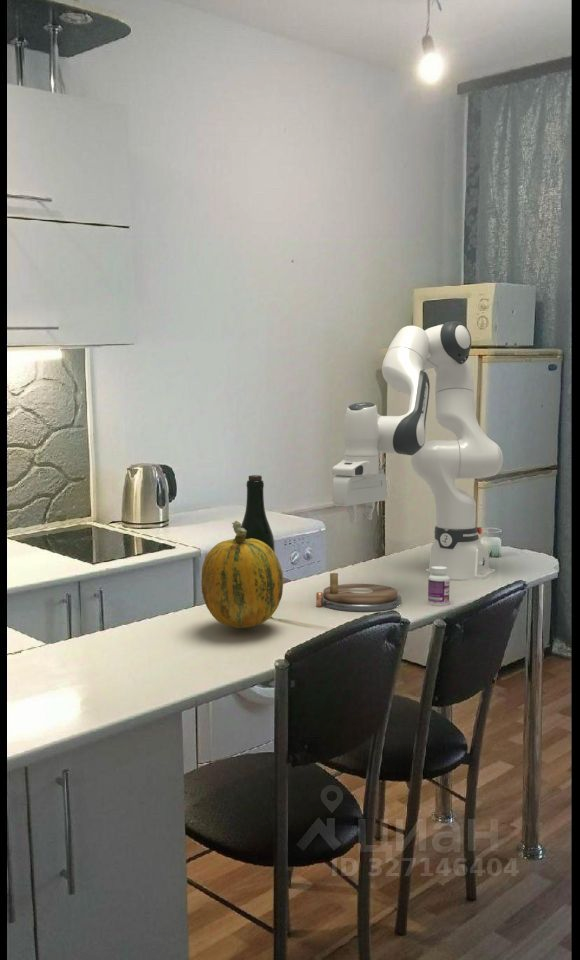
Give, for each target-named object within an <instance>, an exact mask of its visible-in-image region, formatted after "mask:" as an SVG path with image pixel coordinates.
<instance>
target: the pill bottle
mask: <svg viewBox="0 0 580 960" xmlns="http://www.w3.org/2000/svg"><path fill="white" fill-rule="evenodd" d="M431 573H432V575H430V574H429V576H428V580H427V581H428V582H427V583H428V585H427V587H428V588H427V589H428V590H427V603H429V604H428V605H430V604H432V605H431V606H433V605H436V606H435V607H444V606H446V607H447V606H448V605H449V604H450V582H451V579H449V577H448V576H447V575H446V573H447V567H442V566H434V567H431Z"/></svg>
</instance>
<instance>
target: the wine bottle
mask: <svg viewBox="0 0 580 960" xmlns="http://www.w3.org/2000/svg"><path fill="white" fill-rule="evenodd" d="M262 479H263V476H262V475H259V474H258V475H255V474H252V475H249V476H248V480H247V481H246V503H245V504H246V505H245V512H244V517H243V520H242V522H241V528H244V529H245V530H246V531H247V533H246V538H245V539H250V538H252V539H257V540H260V541H262V542H264V543H265V544H267V545H268V546H269V547H270V548H271V549H272V550H273V551H274V553H275V554H276V546H275V539H274V534H273V532H272V528H271V526H270V523H269V521H268V517H267V515H266V509H265V508H266V507H265V497H264V490H265V489H264V488H265V487H264V486H265V483H264V480H262Z"/></svg>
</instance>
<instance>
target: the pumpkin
mask: <svg viewBox="0 0 580 960" xmlns="http://www.w3.org/2000/svg"><path fill="white" fill-rule="evenodd" d="M241 524H242V522H239V521H238V520H235V521H234V522H231V525H232V528H233V531H234V533H235V536H234V538H233V539H227V540H223V541H221V542H218V543H217V544H215V545H214V546H213V547H212V548H211V549H210V550H209V551H208V553H207V554H206V556H205V558H204V561H203V563H202V569H201V580H200V581H201V582H200V584H201V594H202V598H203V601H204V604H205V606H206V608H207V610H208V611H209V613H210V614H211V615H212V617H213V618H214V619H215V620H216V621H217V622H218V623H220V624H222V625H224V626H226V627H230V628H239V629H240V628H252V627H256V626H259V625H261V624H263V623H265V622H267V621H268V620H269V619H270V618H271V617H272V616H273V615H274V613H275V612H277V609H278V607H279V605H280V602H281V600H282V596H283V591H284V574H283V570H282V566H281V563H280V561H279V559H278V556H277V554H276V552H275V553H274V551H273V550H272V549H271V548H270V547H269V546H268V545H267V544H265V543H264V542H262V541H260V540H257V539H252V538H250V539H245V538H246V533H247V531H246V530H245V529H244V528H241Z"/></svg>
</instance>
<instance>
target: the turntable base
mask: <svg viewBox="0 0 580 960" xmlns="http://www.w3.org/2000/svg"><path fill="white" fill-rule="evenodd" d="M315 593H316V594H315V595H316V596H315V598H316V600H315V601H316V603H315V607H316V608H323V607H324V608H327V609H329V610H330V609H331V610H333V611H334V610H335V611H341V612H342V611H343V612H351V613H352V612H354V613H371V612H372V613H373V612H374V613H376V612H385V611H391V610H394V608H395V609H397V608H398V607H397V606H399V605H400V604H401V605H402V603H403V602H402V601H403V599H402V596H401V595H400V594H398V598H397V599H396V600H395V601H392V602H388V603H383V604H371V605H355V604H343V603H337V602H332V601H329V600H326V599H325V598H324V597H323V591H322V592H321V591H319V592H315ZM401 602H402V603H401ZM401 605H400V606H401ZM400 606H399V607H400ZM396 607H397V608H396Z"/></svg>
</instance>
